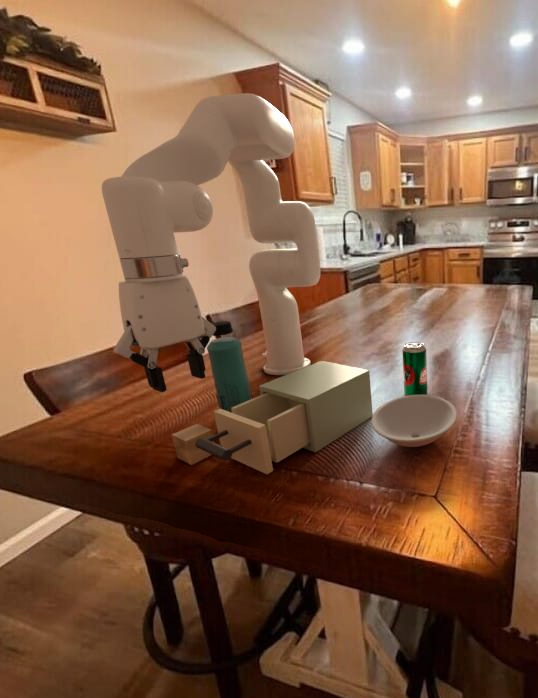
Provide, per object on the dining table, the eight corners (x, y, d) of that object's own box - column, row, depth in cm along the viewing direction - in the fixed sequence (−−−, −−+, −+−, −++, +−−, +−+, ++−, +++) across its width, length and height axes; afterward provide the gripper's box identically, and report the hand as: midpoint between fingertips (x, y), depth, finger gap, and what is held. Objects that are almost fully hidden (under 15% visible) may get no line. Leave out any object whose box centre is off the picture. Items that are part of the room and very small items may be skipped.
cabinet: (315, 452, 69) (308, 399, 66) (267, 434, 76) (258, 385, 73) (372, 416, 81) (369, 370, 78) (326, 403, 88) (321, 360, 85)
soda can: (425, 402, 86) (424, 348, 82) (402, 401, 87) (399, 348, 83) (429, 392, 91) (427, 341, 87) (406, 392, 92) (404, 341, 88)
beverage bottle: (261, 411, 85) (245, 318, 79) (240, 425, 79) (221, 326, 73) (236, 408, 88) (218, 317, 81) (214, 422, 82) (193, 325, 75)
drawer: (238, 492, 58) (228, 443, 55) (193, 468, 64) (183, 423, 61) (333, 433, 73) (328, 393, 70) (289, 419, 79) (284, 381, 77)
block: (177, 457, 69) (171, 434, 68) (202, 446, 73) (196, 423, 71) (191, 465, 67) (185, 441, 65) (216, 452, 70) (211, 429, 69)
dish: (447, 474, 61) (446, 445, 59) (358, 462, 65) (356, 435, 63) (463, 421, 77) (463, 397, 75) (391, 414, 81) (390, 391, 79)
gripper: (194, 263, 68) (215, 364, 74) (73, 276, 55) (110, 398, 61) (220, 263, 64) (240, 370, 70) (96, 277, 51) (133, 408, 57)
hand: (179, 382), depth 65 cm, fingers open, 5 cm apart
